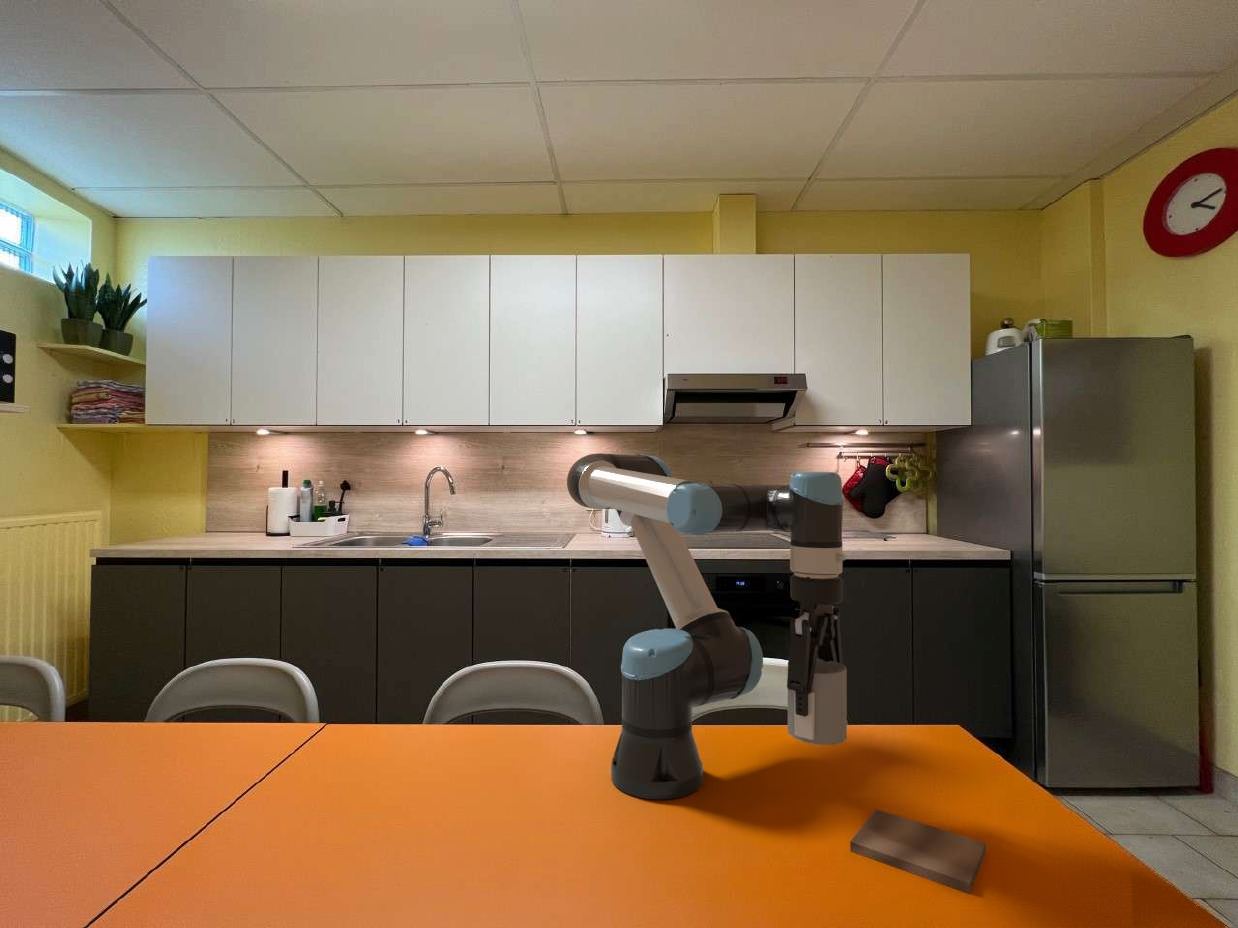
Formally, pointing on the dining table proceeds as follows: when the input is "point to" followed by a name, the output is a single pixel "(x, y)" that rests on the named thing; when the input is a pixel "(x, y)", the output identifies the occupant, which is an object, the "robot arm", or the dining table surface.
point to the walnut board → (920, 849)
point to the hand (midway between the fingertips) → (816, 727)
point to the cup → (826, 704)
